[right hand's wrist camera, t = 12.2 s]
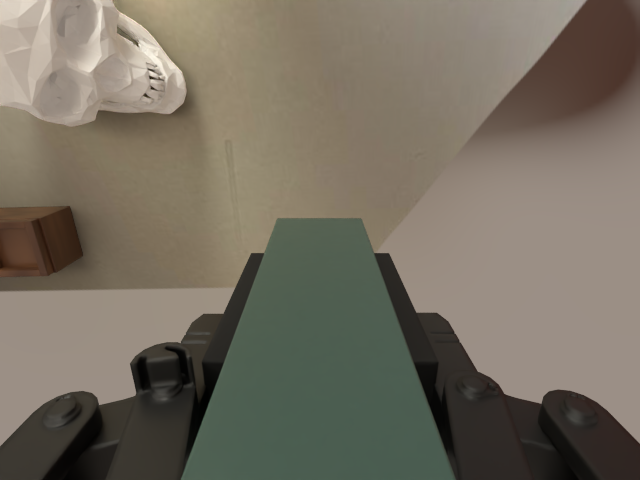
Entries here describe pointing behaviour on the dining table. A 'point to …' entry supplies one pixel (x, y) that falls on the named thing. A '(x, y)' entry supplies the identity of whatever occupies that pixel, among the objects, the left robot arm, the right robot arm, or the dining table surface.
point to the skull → (81, 62)
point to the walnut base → (37, 240)
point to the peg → (318, 372)
